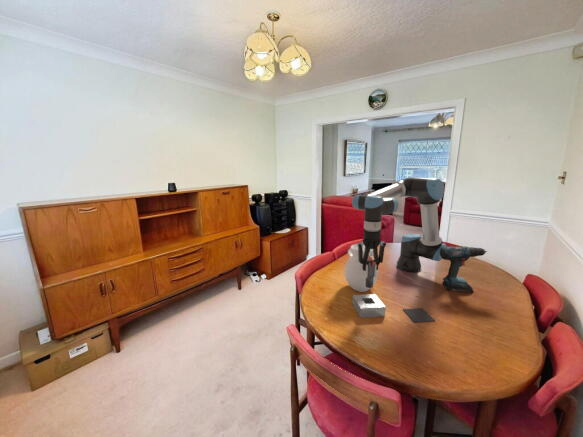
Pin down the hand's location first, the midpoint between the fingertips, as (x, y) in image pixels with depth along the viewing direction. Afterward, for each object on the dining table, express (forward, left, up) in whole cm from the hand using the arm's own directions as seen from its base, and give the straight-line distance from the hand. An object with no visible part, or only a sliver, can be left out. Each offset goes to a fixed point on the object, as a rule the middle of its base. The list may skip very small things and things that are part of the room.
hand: (369, 276), depth 120 cm
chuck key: (0, 0, -5) cm, 5 cm away
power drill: (-15, +59, -18) cm, 64 cm away
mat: (+7, +22, -18) cm, 29 cm away
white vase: (-22, +4, -18) cm, 29 cm away
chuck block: (0, 0, -18) cm, 18 cm away
